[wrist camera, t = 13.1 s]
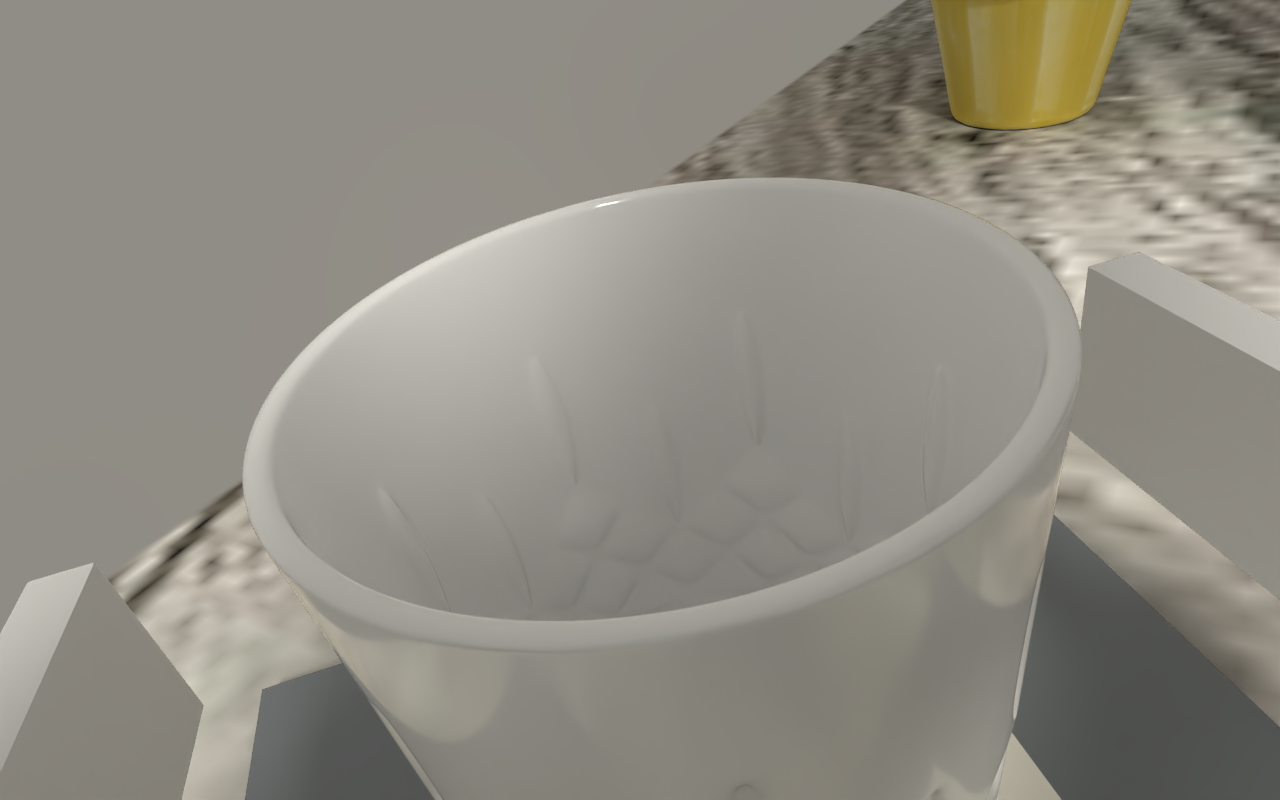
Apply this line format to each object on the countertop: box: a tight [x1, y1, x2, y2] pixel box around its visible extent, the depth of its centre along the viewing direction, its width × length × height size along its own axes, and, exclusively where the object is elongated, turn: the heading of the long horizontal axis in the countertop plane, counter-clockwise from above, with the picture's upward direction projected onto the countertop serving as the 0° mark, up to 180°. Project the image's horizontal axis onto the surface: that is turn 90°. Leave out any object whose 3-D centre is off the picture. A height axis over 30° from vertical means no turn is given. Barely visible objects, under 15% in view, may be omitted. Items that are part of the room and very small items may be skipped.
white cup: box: [243, 178, 1082, 800], centre depth 11 cm, size 8×8×10 cm
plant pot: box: [931, 0, 1132, 130], centre depth 39 cm, size 10×10×10 cm
